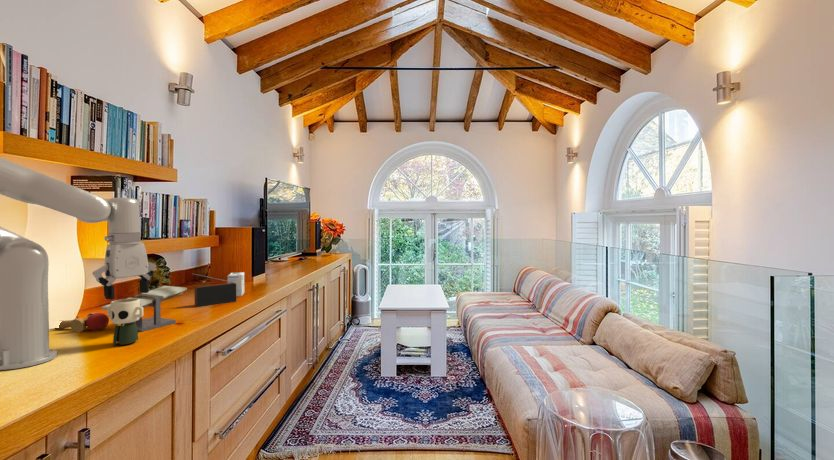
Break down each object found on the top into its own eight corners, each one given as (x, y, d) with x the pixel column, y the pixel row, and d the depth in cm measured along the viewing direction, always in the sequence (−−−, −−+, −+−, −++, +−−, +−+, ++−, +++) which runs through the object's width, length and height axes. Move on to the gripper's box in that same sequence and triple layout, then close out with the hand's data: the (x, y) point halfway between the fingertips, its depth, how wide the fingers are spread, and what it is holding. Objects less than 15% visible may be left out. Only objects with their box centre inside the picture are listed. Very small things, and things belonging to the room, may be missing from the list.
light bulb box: (230, 293, 201) (230, 272, 200) (244, 292, 203) (244, 271, 202) (227, 297, 190) (227, 275, 190) (242, 296, 192) (242, 274, 192)
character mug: (98, 347, 114) (97, 302, 114) (117, 339, 121) (117, 298, 121) (134, 347, 114) (133, 303, 113) (152, 340, 121) (151, 298, 121)
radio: (233, 300, 181) (233, 268, 181) (236, 301, 179) (236, 269, 179) (189, 307, 168) (188, 272, 168) (191, 308, 166) (191, 273, 166)
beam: (126, 319, 126) (124, 310, 125) (103, 316, 130) (101, 307, 129) (188, 296, 146) (186, 287, 145) (166, 293, 150) (164, 285, 149)
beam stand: (141, 331, 130) (141, 300, 130) (118, 328, 134) (118, 298, 134) (175, 323, 141) (175, 294, 141) (153, 320, 146) (153, 292, 145)
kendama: (44, 337, 129) (94, 330, 128) (45, 317, 130) (94, 311, 129) (67, 334, 137) (115, 328, 135) (68, 316, 138) (115, 310, 136)
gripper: (100, 241, 108) (103, 302, 108) (161, 237, 124) (164, 291, 124) (83, 240, 110) (86, 300, 111) (146, 237, 126) (148, 289, 127)
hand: (127, 295), depth 118 cm, fingers open, 9 cm apart
